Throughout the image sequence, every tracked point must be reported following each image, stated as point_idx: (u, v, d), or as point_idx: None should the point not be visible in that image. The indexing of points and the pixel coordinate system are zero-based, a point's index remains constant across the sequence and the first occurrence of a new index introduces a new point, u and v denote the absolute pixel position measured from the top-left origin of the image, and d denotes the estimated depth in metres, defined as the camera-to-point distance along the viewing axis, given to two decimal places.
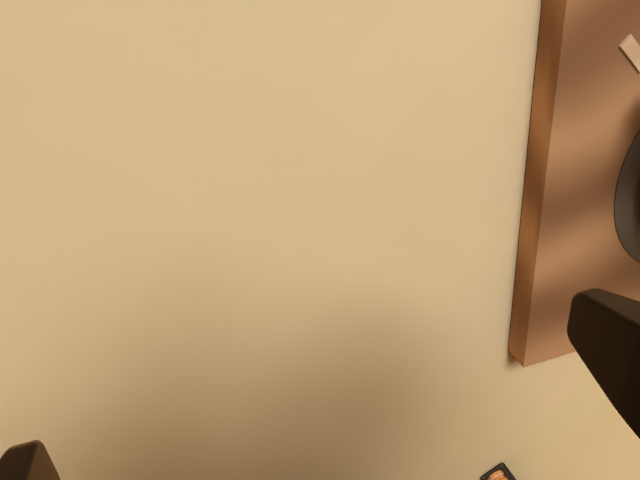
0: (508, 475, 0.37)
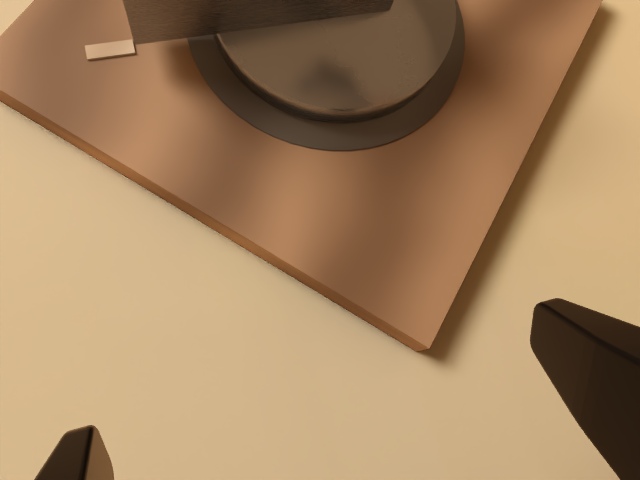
0: None
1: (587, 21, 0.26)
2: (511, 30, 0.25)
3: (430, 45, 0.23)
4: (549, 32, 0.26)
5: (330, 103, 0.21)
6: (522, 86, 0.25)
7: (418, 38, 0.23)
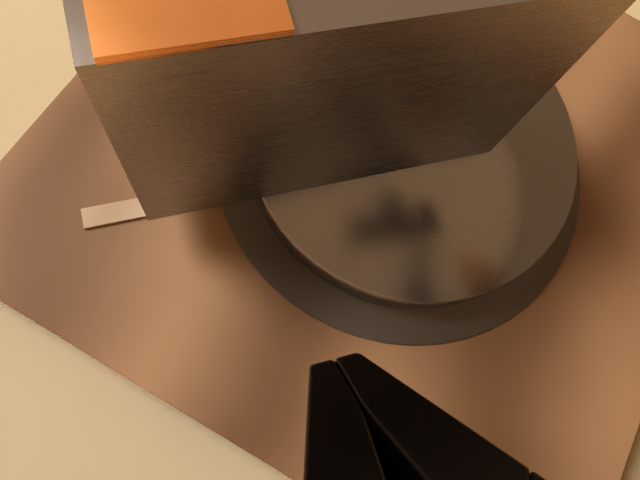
0: None
1: None
2: (636, 159, 0.19)
3: (546, 199, 0.17)
4: None
5: (417, 294, 0.15)
6: None
7: (530, 190, 0.17)
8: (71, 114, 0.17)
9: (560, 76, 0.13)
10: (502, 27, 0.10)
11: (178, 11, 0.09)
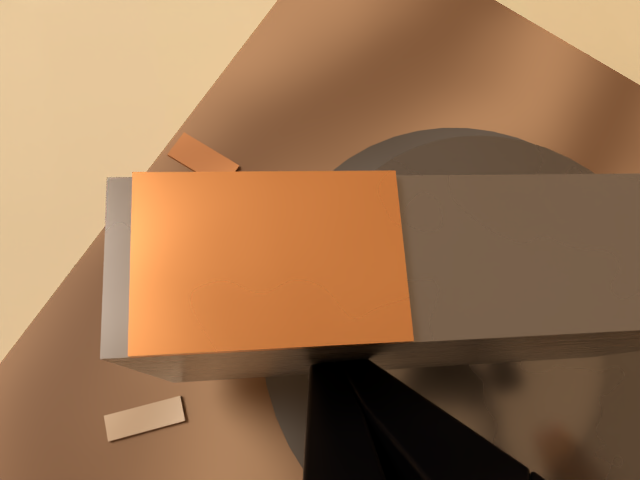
0: None
1: None
2: None
3: None
4: None
5: None
6: None
7: (632, 416, 0.14)
8: (91, 289, 0.14)
9: None
10: None
11: (257, 294, 0.06)
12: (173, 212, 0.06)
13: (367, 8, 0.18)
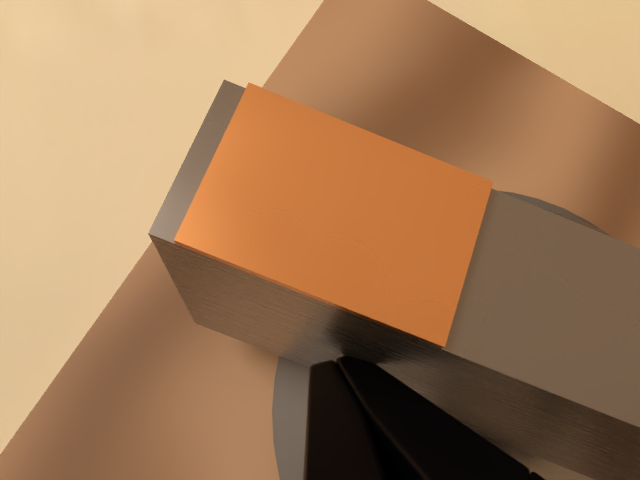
0: None
1: None
2: None
3: None
4: None
5: None
6: None
7: None
8: (92, 377, 0.13)
9: None
10: None
11: (315, 237, 0.06)
12: (269, 132, 0.06)
13: (379, 61, 0.17)
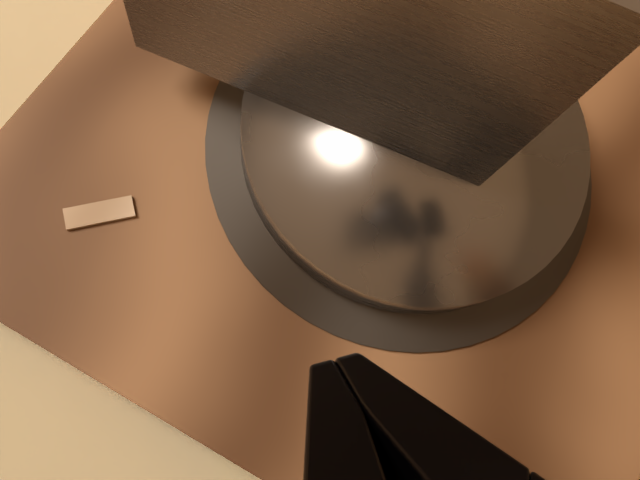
0: None
1: None
2: None
3: (502, 261, 0.15)
4: None
5: (314, 256, 0.14)
6: None
7: (492, 244, 0.15)
8: (52, 107, 0.16)
9: (556, 115, 0.12)
10: None
11: None
12: None
13: None
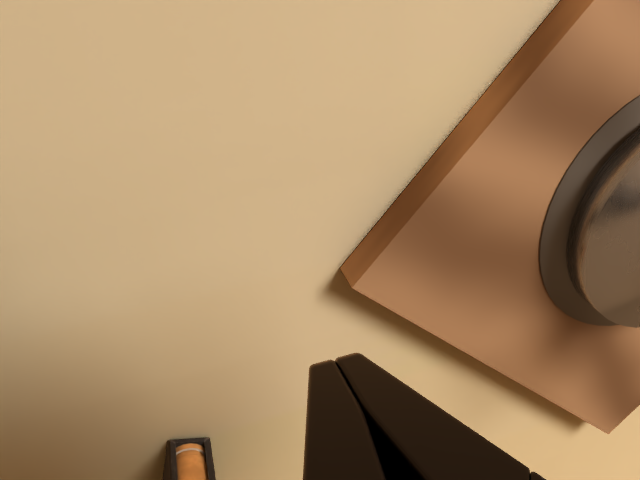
0: (208, 454, 0.24)
1: (584, 417, 0.30)
2: (598, 361, 0.28)
3: (602, 270, 0.23)
4: (586, 389, 0.29)
5: None
6: (550, 368, 0.27)
7: (613, 265, 0.23)
8: None
9: None
10: None
11: None
12: None
13: None
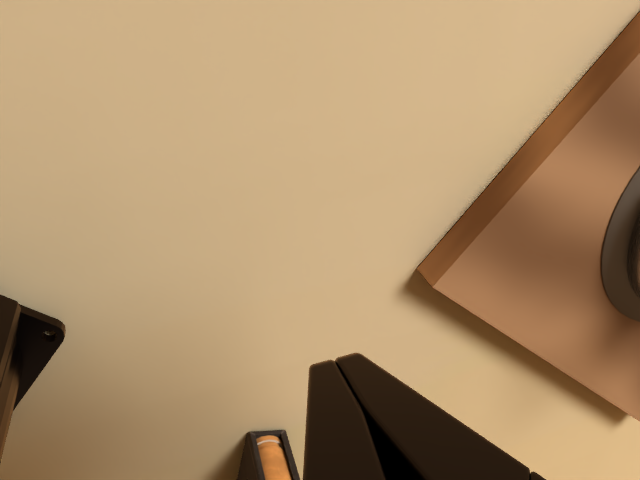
0: (286, 445, 0.26)
1: (630, 411, 0.32)
2: None
3: None
4: (633, 385, 0.31)
5: None
6: (603, 364, 0.29)
7: None
8: None
9: None
10: None
11: None
12: None
13: None
